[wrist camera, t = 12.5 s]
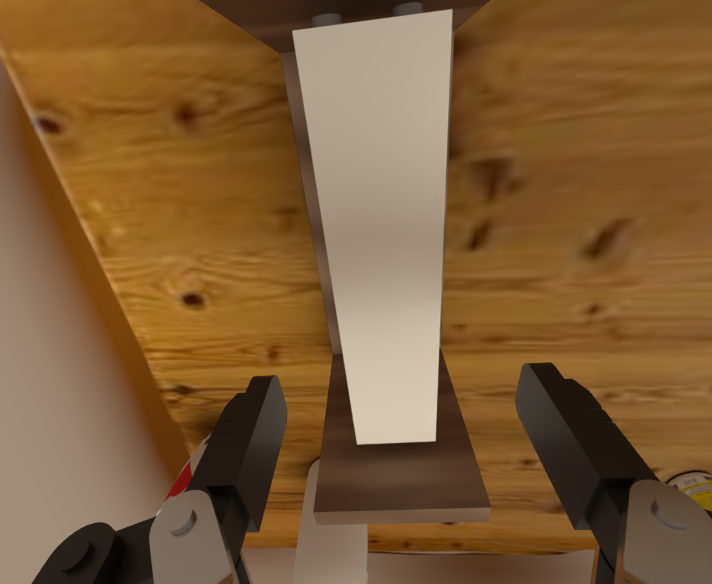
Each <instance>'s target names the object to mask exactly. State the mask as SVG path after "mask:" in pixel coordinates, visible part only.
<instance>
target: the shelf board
mask: <svg viewBox="0 0 712 584" xmlns="http://www.w3.org/2000/svg"><path fill="white" fill-rule="evenodd" d="M452 10H453V9H450V10H443V11H435V12H428V13H420V14H413V15H405V16H398V17H390V18H383V19H376V20H368V21H361V22H353V23H346V24H338V25H331V26H324V27H316V28H309V29H301V30H294V31H292V33H293V39H294V46H295V52H296V59H297V65H298V71H299V78H300V84H301V90H302V97H303V103H304V110H305V116H306V122H307V129H308V135H309V141H310V148H311V154H312V160H313V167H314V173H315V180H316V186H317V192H318V199H319V205H320V211H321V218H322V224H323V231H324V237H325V243H326V250H327V256H328V262H329V269H330V275H331V282H332V288H333V294H334V301H335V307H336V313H337V320H338V326H339V333H340V339H341V345H342V352H343V358H344V364H345V371H346V377H347V383H348V390H349V396H350V403H351V409H352V415H353V422H354V428H355V434H356V441H357V444H381V443H404V442H428V441H436V417H437V391H438V366H439V340H440V315H441V289H442V264H443V239H444V213H445V188H446V162H447V137H448V111H449V86H450V60H451V35H452Z"/></svg>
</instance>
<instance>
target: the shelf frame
mask: <svg viewBox="0 0 712 584" xmlns="http://www.w3.org/2000/svg"><path fill="white" fill-rule="evenodd" d="M200 1H201V2H203V3H204V4H206V5H207V6H209V7H210V8H212V9H214V10H215V11H217V12H218V13H220V14H221V15H223V16H224V17H226V18H227V19H229V20H230V21H232V22H233V23H235V24H236V25H238V26H239V27H241V28H242V29H244V30H245V31H247V32H249V33H250V34H252V35H253V36H255V37H256V38H258V39H259V40H261V41H262V42H264V43H265V44H267V45H268V46H270V47H271V48H273V49H274V50H276V51H277V52H279V53H280V56H281V61H282V67H283V73H284V78H285V84H286V90H287V95H288V101H289V107H290V112H291V118H292V124H293V130H294V135H295V141H296V147H297V152H298V158H299V164H300V169H301V175H302V181H303V186H304V192H305V198H306V203H307V209H308V215H309V221H310V226H311V232H312V238H313V243H314V249H315V255H316V260H317V266H318V272H319V277H320V283H321V289H322V294H323V300H324V306H325V312H326V317H327V323H328V329H329V334H330V340H331V346H332V351H333V359H332V367H331V375H330V383H329V391H328V399H327V407H326V415H325V423H324V431H323V439H322V447H321V455H320V463H319V471H318V479H317V487H316V495H315V502H314V510H313V513H314V516H315V519H316V523H317V525H353V524H393V523H434V522H475V521H489V516H490V512H491V505H490V502H489V498H488V495H487V492H486V489H485V486H484V483H483V480H482V477H481V473H480V470H479V467H478V464H477V461H476V458H475V455H474V451H473V448H472V445H471V442H470V439H469V436H468V433H467V430H466V426H465V423H464V420H463V417H462V414H461V411H460V408H459V404H458V401H457V398H456V395H455V392H454V389H453V386H452V382H451V379H450V376H449V373H448V370H447V367H446V364H445V361H444V357H443V354H442V351H441V326H442V303H443V280H444V257H445V234H446V211H447V188H448V165H449V141H450V118H451V95H452V72H453V49H454V31H455V30H456V29H457V28H458V27H459V26H461V25H462V24H463V23H464V22H465V21H466V20H468V19H469V18H470V17H471V16H472V15H473V14H474V13H476V12H477V11H478V10H479V9H480V8H481V7H483V6H484V5H485V4H486V3H487V2H488V1H490V0H200ZM450 9H453V10H452V35H451V60H450V86H449V111H448V137H447V162H446V188H445V213H444V239H443V264H442V289H441V315H440V340H439V366H438V391H437V417H436V441H428V442H404V443H381V444H357V441H356V434H355V428H354V422H353V415H352V409H351V403H350V396H349V390H348V383H347V377H346V371H345V364H344V358H343V352H342V345H341V339H340V333H339V326H338V320H337V313H336V307H335V301H334V294H333V288H332V282H331V275H330V269H329V262H328V256H327V250H326V243H325V237H324V231H323V224H322V218H321V211H320V205H319V199H318V192H317V186H316V180H315V173H314V167H313V160H312V154H311V148H310V141H309V135H308V129H307V122H306V116H305V110H304V103H303V97H302V90H301V84H300V78H299V71H298V65H297V59H296V52H295V46H294V39H293V33H292V31H294V30H301V29H309V28H316V27H324V26H331V25H338V24H346V23H353V22H361V21H368V20H376V19H383V18H390V17H398V16H405V15H413V14H420V13H428V12H435V11H443V10H450Z"/></svg>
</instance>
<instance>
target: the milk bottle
mask: <svg viewBox="0 0 712 584" xmlns="http://www.w3.org/2000/svg"><path fill="white" fill-rule="evenodd" d="M319 463H320V459H318V460H316V461H315V462H314V463H313V464H312V466H311V467H310V469H309V472H308V478H307V484H306V490H305V497H304V503H303V510H302V516H301V523H300V530H299V537H298V543H297V551H296V558H295V566H294V574H293V584H367V572H368V524H353V525H317V523H316V519H315V516H314V513H313V510H314V502H315V495H316V487H317V479H318V471H319Z"/></svg>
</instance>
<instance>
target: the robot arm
mask: <svg viewBox="0 0 712 584" xmlns="http://www.w3.org/2000/svg"><path fill="white" fill-rule="evenodd" d="M515 402H516V409H517V412H518V415H519V418H520V420H521V422H522V424H523V426H524V428H525V430H526V432H527V434H528V436H529V438H530V440H531V442H532V444H533V446H534V448H535V450H536V452H537V454H538V456H539V458H540V460H541V463H542V465H543V467H544V469H545V471H546V473H547V475H548V477H549V479H550V481H551V483H552V485H553V487H554V489H555V491H556V493H557V495H558V497H559V499H560V501H561V503H562V505H563V507H564V509H565V511H566V514H567V516H568V518H569V520H570V522H571V524H572V526H573V528H574V530H592V532H593V534H594V536H595V538H596V540H597V542H598V543H597V545H596V548H595V555H594V561H593V568H592V576H591V581H590V584H712V511H709V510H706V509H703V508H702V507H701V506H700V505H699V504H698V503H697V502H696V501H695V500H693V499H692V498H691V497H690V496H688V495H687V494H685V493H684V492H682V491H680V490H679V489H677V488H675V487H673V486H671V485H669V484H666V483H663V482H661V481H660V480H659V479H658V478H657V477H656V476H655V474H654V473H653V472H652V471H651V469H650V468H649V467H648V466H647V464H646V463H645V462H644V460H643V459H642V458H641V457H640V455H639V454H638V453H637V451H636V450H635V449H634V448H633V446H632V445H631V444H630V443H629V441H628V440H627V439H626V437H625V436H624V435H623V434H622V432H621V431H620V430H619V428H618V427H617V426H616V425H615V423H612V419H611V418H610V417H609V416H608V414H607V413H606V412H605V411H604V410H602V407H601V405H600V404H599V403H598V402H597V400H596V399H595V398H594V396H593V395H592V394H591V393H590V391H588V390H587V389H586V388H584V387H583V386H581V385H580V384H579V383H577V382H576V381H575V380H573V379H564V378H563V376H562V375H561V374H560V372H559V371H558V369H557V368H556V367H555V366H554V365H553V364H552V363H550V362H548V363H528V364H524V365H523V366H522V370H521V374H520V379H519V383H518V388H517V392H516V398H515ZM286 423H287V406H286V402H285V399H284V395H283V392H282V389H281V386H280V382H279V379H278V377H277V376H276V375H272V376H254V377H253V378H252V379H251V381H250V383H249V386H248V388H247V390H246V393H237V394H236V395H235V396H234V398H233V399H232V400H231V401H230V402H229V403H228V404H227V405H226V406H225V408H224V410H223V412H222V415H221V417H220V419H219V423H218V424H217V425H216V427H215V429H214V431H213V436H212V437H211V438H210V440H209V442H208V444H207V446H206V448H205V450H204V453H203V455H202V457H201V459H200V461H199V463H198V465H197V467H196V469H195V472H194V474H193V476H192V478H191V480H190V482H189V484H188V486H187V488H186V490H185V491H184V493H182V494H180V495H178V496H176V497H175V498H173V499H172V500H171V501H169V502H168V503H167V504H166V505H165V506H164V507H163V508H162V510H161V511H160V512H159V513H158V515H157V516H155V517H153V518H151V519H148V520H145V521H143V522H140V523H137V524H134V525H132V526H129V527H126V528H124V529H121V530H118V531H115V530H114V529H113V528H112V527H111V526H109V525H108V524H106V523H102V522H101V523H100V522H98V523H93V524H90V525H87V526H85V527H83V528H81V529H79V530H77V531H76V532H74V533H73V534H72V535H70V536H69V537H68V538H67V539H65V540H64V541H63V542H62V543H61V544H60V545H59V546H58V547H57V548H56V549H55V550H54V552H53V553H52V554H51V555H50V557H49V558H48V560H47V561H46V563H45V564H44V566H43V567H42V569H41V570H40V572H39V573H38V575H37V576H36V578H35V579H34V581H33V582H32V584H253V583H252V580H251V577H250V574H249V571H248V568H247V565H246V562H245V559H244V556H243V553H242V551H241V548H242V544H243V541H244V537H245V534H246V532H259V530H260V526H261V522H262V518H263V514H264V510H265V506H266V502H267V498H268V495H269V491H270V487H271V483H272V479H273V475H274V471H275V467H276V463H277V459H278V455H279V451H280V447H281V443H282V440H283V436H284V432H285V428H286Z"/></svg>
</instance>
